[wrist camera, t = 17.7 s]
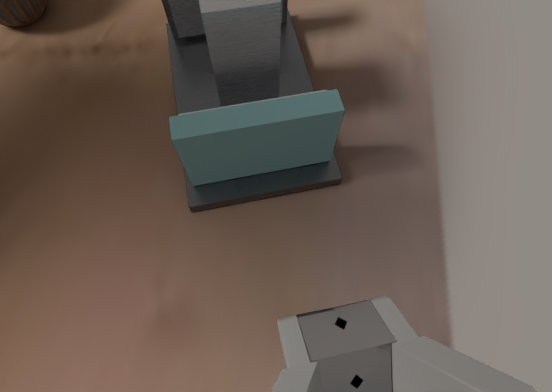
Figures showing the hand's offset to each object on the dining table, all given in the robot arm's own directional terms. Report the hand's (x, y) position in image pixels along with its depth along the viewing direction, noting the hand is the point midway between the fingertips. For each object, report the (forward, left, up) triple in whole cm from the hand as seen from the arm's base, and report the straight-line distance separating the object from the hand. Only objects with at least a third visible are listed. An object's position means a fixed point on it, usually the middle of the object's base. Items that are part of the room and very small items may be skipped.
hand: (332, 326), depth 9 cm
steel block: (-17, +10, -13) cm, 23 cm away
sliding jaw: (-11, +6, -13) cm, 18 cm away
